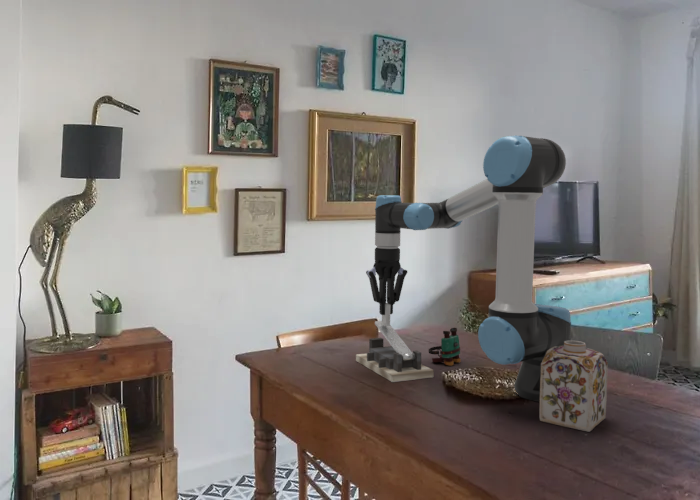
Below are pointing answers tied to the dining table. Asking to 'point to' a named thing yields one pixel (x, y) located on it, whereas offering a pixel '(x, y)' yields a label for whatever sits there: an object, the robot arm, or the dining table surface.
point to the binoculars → (448, 348)
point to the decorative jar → (573, 386)
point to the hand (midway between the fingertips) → (385, 325)
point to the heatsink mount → (393, 363)
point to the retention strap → (395, 341)
